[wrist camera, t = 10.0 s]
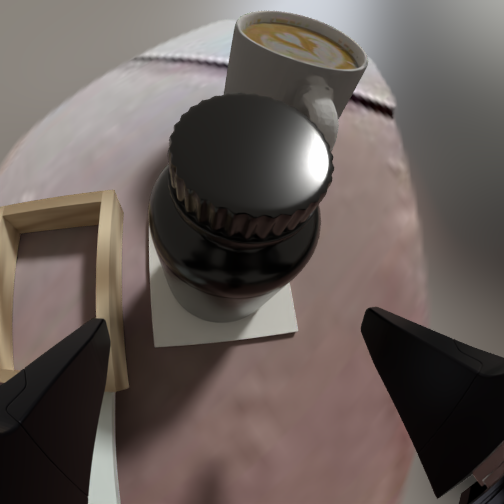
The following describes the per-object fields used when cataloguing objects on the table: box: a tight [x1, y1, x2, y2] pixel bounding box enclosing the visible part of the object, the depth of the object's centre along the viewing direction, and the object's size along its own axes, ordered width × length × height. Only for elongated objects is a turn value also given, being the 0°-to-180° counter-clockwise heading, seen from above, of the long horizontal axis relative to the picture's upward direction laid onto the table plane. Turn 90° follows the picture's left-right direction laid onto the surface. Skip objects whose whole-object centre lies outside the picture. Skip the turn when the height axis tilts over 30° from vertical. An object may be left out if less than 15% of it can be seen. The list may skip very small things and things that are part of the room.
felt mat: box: [149, 228, 298, 347], centre depth 19 cm, size 9×9×1 cm
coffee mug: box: [224, 11, 368, 152], centre depth 20 cm, size 13×10×10 cm
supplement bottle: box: [148, 93, 334, 323], centre depth 13 cm, size 7×7×12 cm
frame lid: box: [88, 392, 121, 504], centre depth 11 cm, size 7×8×4 cm
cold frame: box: [0, 190, 129, 392], centre depth 15 cm, size 12×10×3 cm
